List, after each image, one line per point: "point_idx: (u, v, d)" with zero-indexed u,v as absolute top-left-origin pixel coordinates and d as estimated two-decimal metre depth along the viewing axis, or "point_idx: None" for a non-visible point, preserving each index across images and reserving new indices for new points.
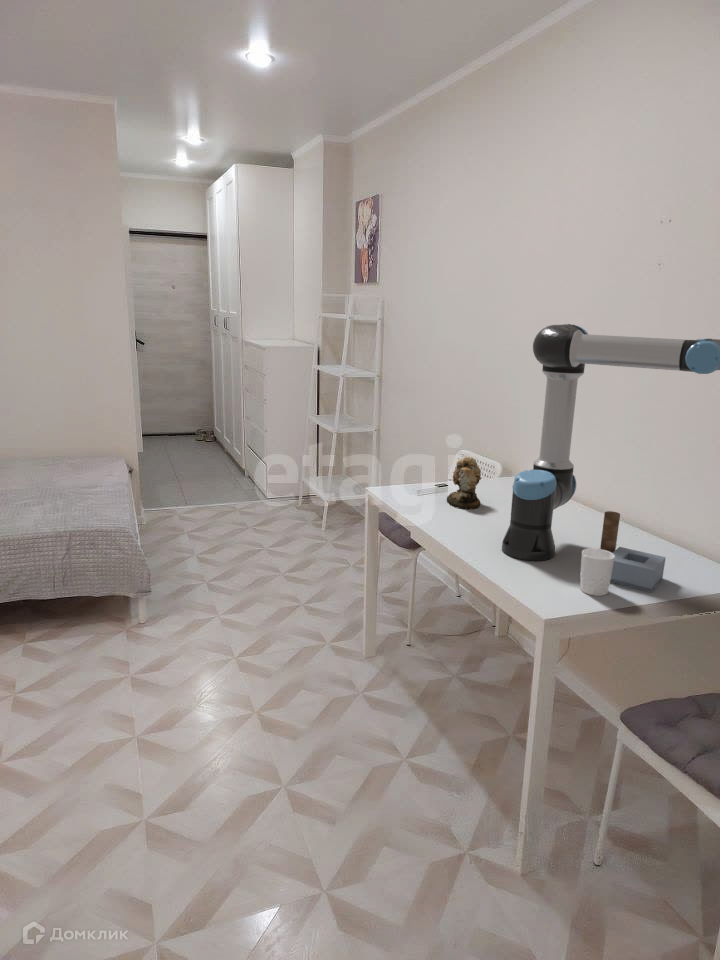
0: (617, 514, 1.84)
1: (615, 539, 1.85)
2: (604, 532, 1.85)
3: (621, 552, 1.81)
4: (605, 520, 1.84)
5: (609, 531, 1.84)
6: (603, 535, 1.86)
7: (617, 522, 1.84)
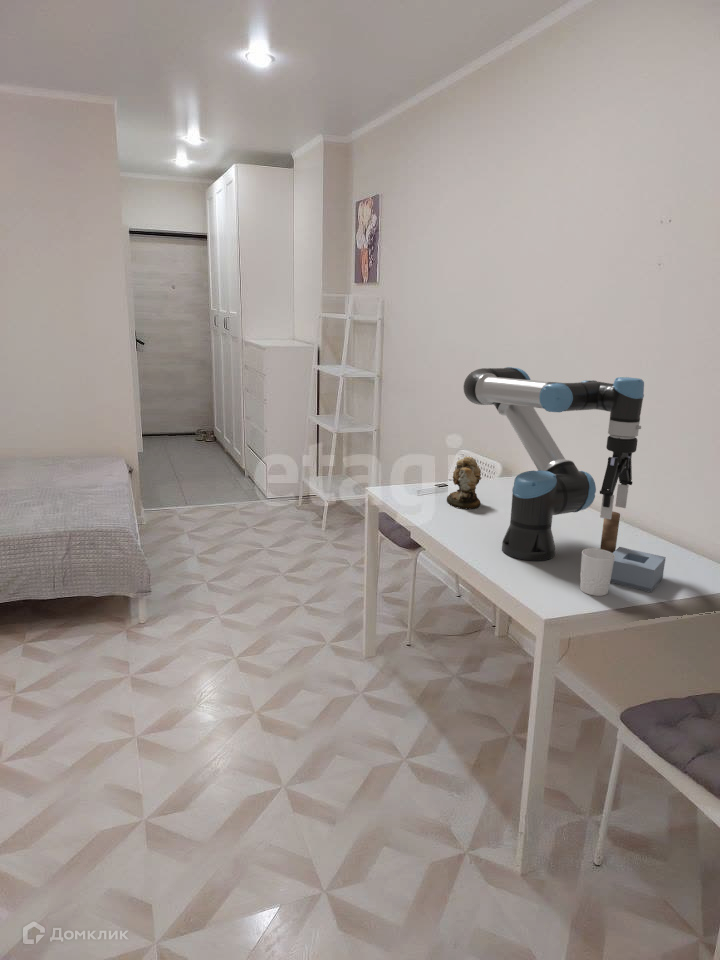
0: (617, 514, 1.84)
1: (615, 539, 1.85)
2: (604, 532, 1.85)
3: (621, 552, 1.81)
4: (605, 520, 1.84)
5: (609, 531, 1.84)
6: (603, 535, 1.86)
7: (617, 522, 1.84)
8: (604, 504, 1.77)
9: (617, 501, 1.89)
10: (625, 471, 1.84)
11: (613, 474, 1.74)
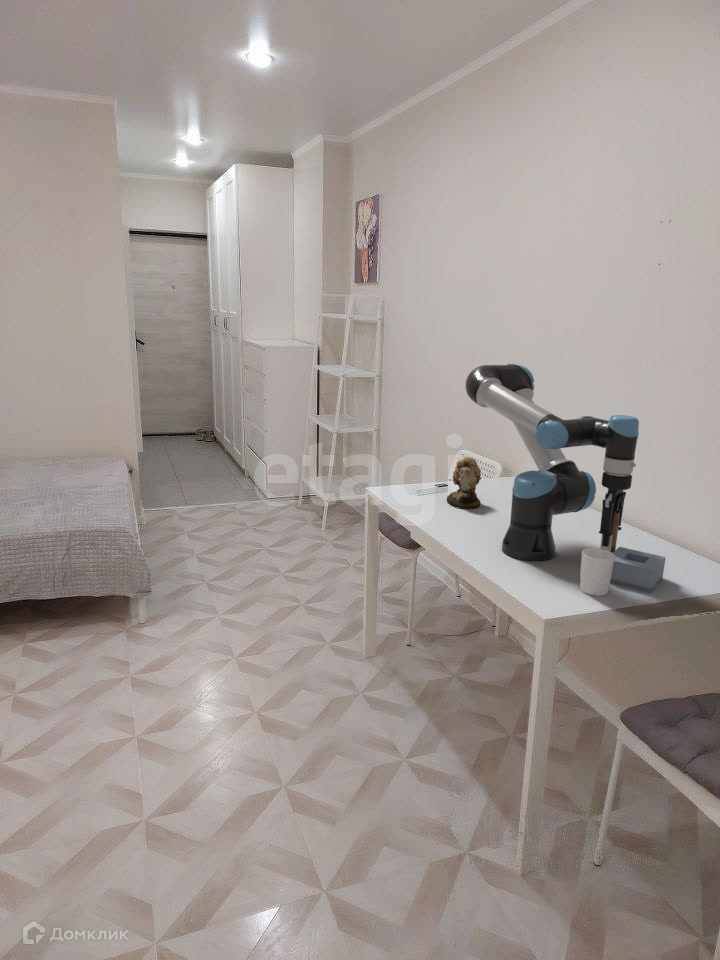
0: (617, 514, 1.84)
1: (615, 539, 1.85)
2: None
3: (621, 552, 1.81)
4: None
5: None
6: None
7: (617, 522, 1.84)
8: (603, 543, 1.84)
9: None
10: (617, 510, 1.85)
11: (609, 516, 1.79)
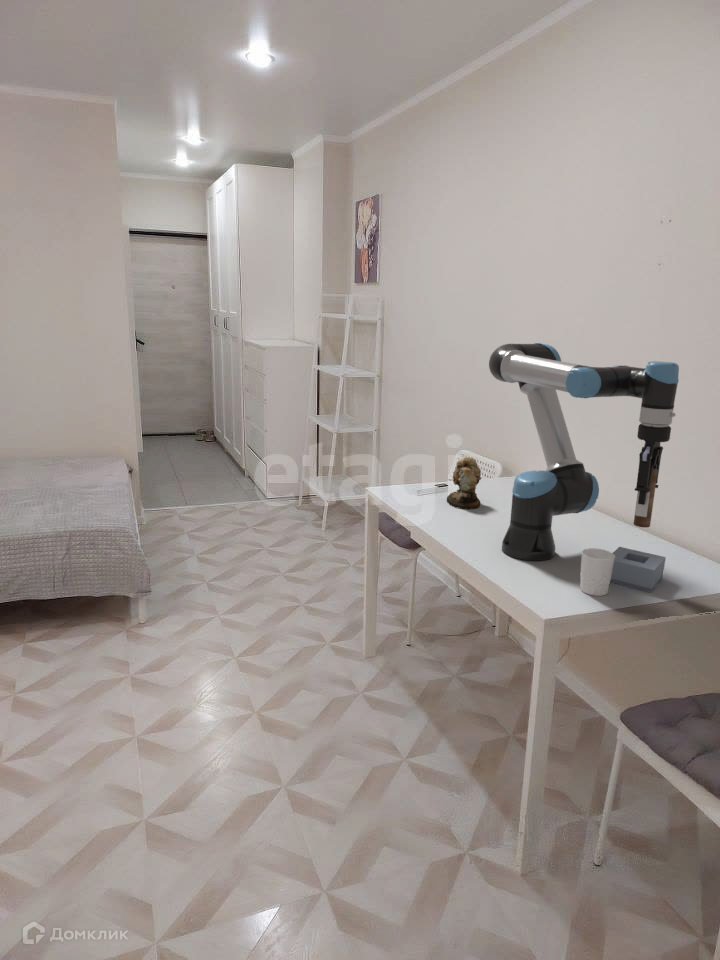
0: (654, 469, 1.70)
1: (652, 497, 1.71)
2: None
3: (621, 552, 1.81)
4: None
5: None
6: None
7: (655, 478, 1.70)
8: (639, 501, 1.70)
9: None
10: (654, 466, 1.71)
11: (647, 471, 1.66)
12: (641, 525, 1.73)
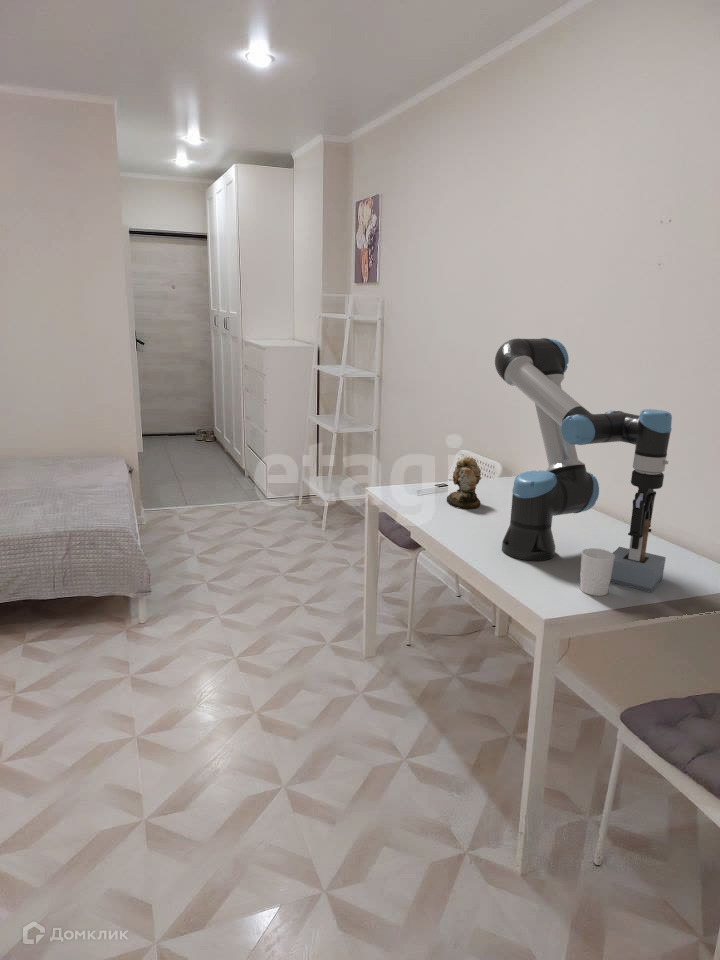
0: (647, 520, 1.73)
1: (644, 547, 1.74)
2: None
3: (621, 552, 1.81)
4: None
5: None
6: None
7: (647, 529, 1.73)
8: (633, 546, 1.73)
9: None
10: (647, 511, 1.74)
11: (640, 517, 1.69)
12: None
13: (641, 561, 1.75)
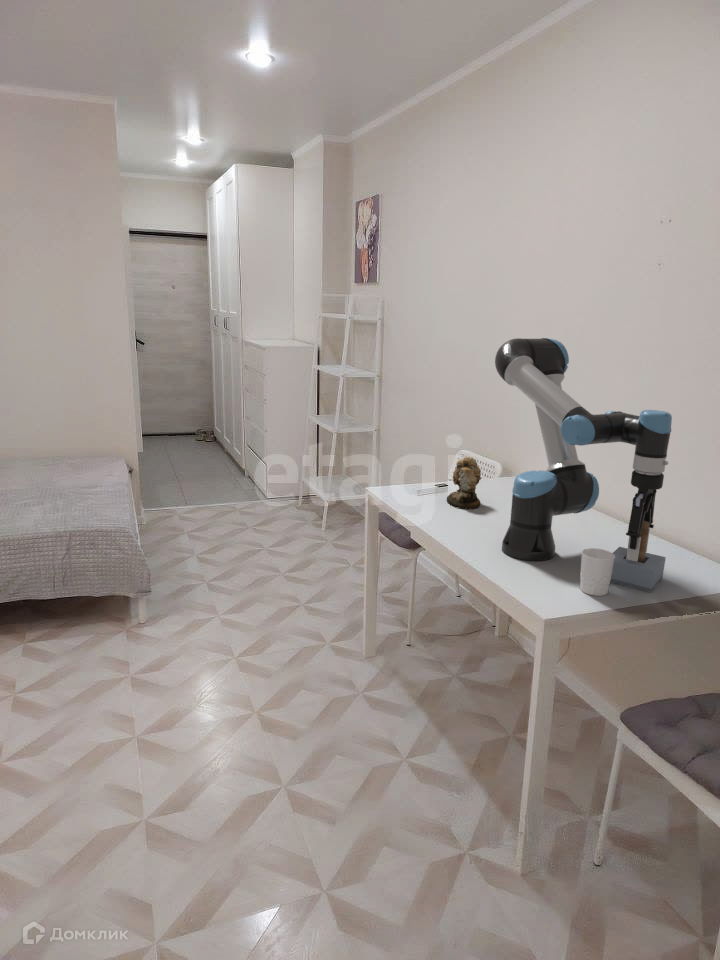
0: (647, 523, 1.73)
1: (644, 549, 1.75)
2: None
3: (621, 552, 1.81)
4: None
5: None
6: None
7: (647, 532, 1.73)
8: (631, 546, 1.71)
9: None
10: (648, 510, 1.75)
11: (639, 516, 1.68)
12: None
13: None
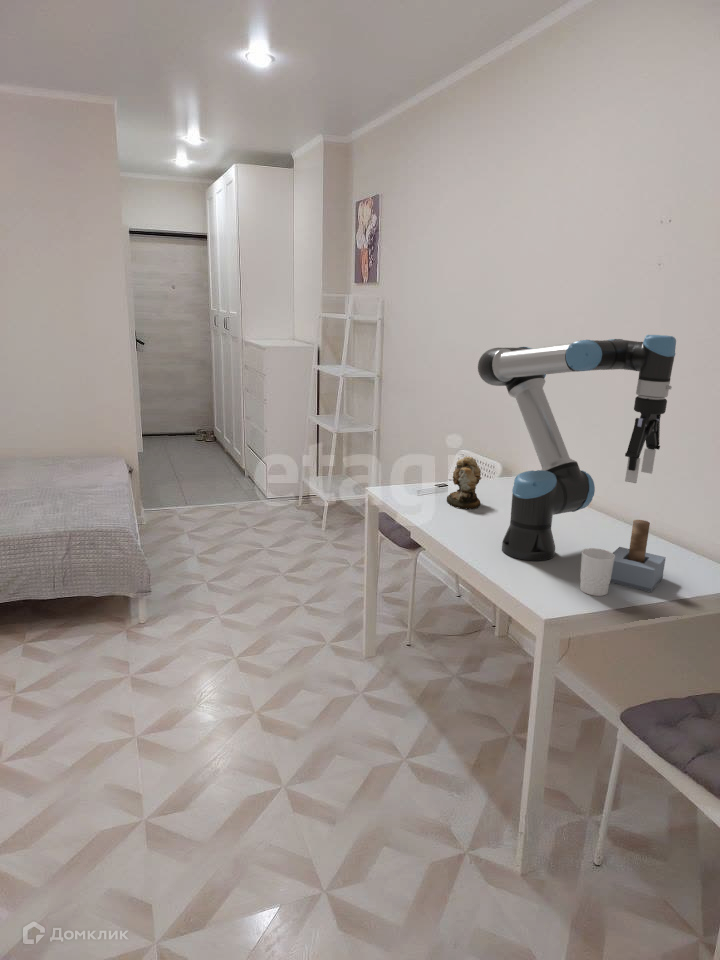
0: (647, 523, 1.74)
1: (644, 549, 1.75)
2: (633, 542, 1.75)
3: (621, 552, 1.81)
4: (634, 529, 1.74)
5: (638, 540, 1.74)
6: (631, 545, 1.75)
7: (647, 532, 1.73)
8: (629, 467, 1.70)
9: (643, 466, 1.82)
10: (653, 434, 1.76)
11: (640, 436, 1.67)
12: None
13: None
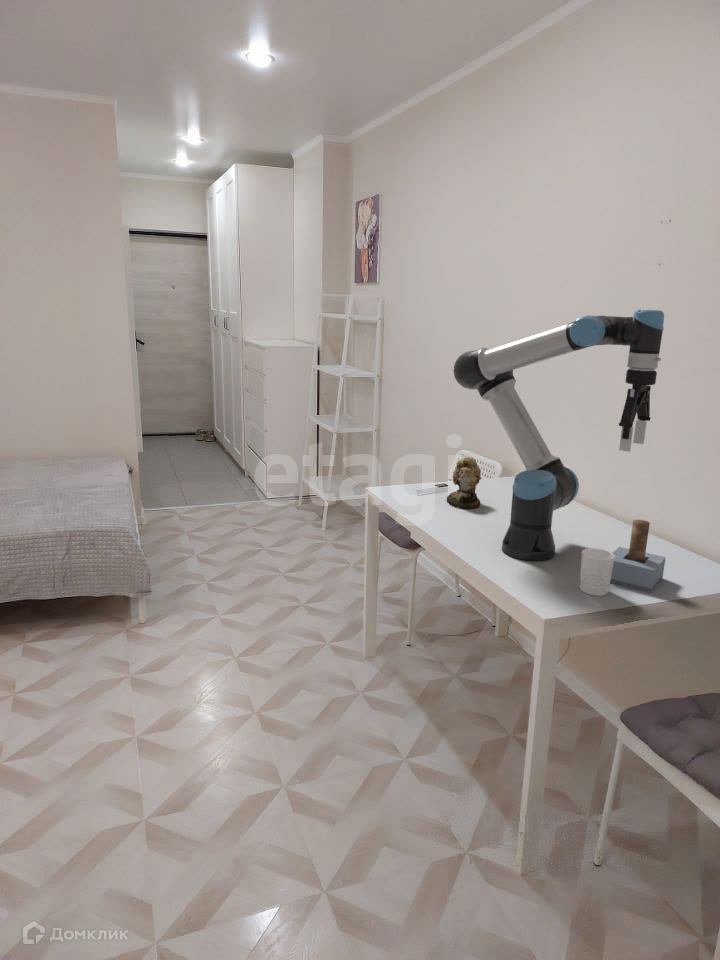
0: (646, 523, 1.73)
1: (644, 549, 1.75)
2: (632, 542, 1.75)
3: (621, 552, 1.81)
4: (634, 529, 1.74)
5: (638, 540, 1.74)
6: (631, 545, 1.75)
7: (647, 532, 1.73)
8: (623, 436, 1.78)
9: (635, 437, 1.90)
10: (644, 406, 1.84)
11: (633, 405, 1.75)
12: None
13: None
